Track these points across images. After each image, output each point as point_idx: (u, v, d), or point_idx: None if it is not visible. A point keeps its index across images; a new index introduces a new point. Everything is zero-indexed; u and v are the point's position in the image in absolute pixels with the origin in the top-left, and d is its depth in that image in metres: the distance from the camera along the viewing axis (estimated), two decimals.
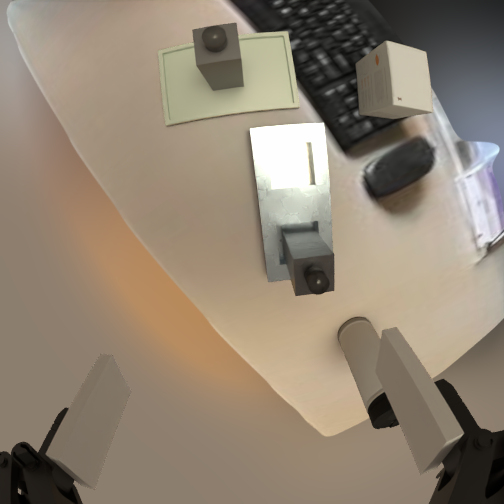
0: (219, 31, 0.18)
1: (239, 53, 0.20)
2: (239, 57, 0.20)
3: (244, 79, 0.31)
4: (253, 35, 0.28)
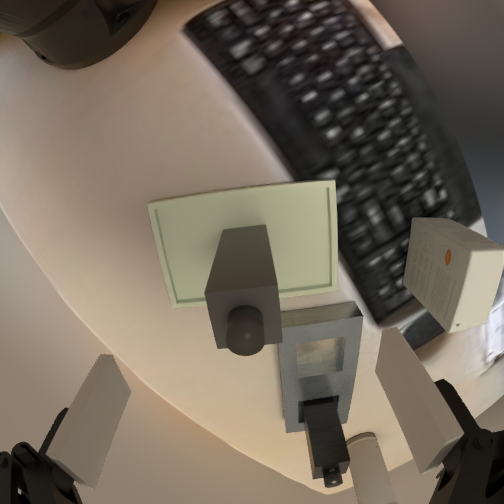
0: (254, 337, 0.14)
1: (280, 335, 0.16)
2: (280, 341, 0.17)
3: None
4: (286, 187, 0.24)
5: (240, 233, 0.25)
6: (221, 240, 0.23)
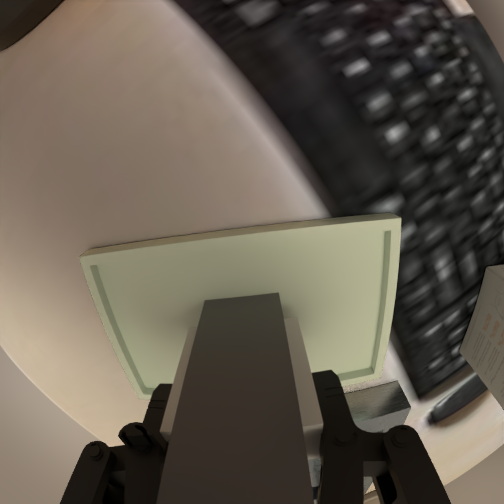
0: None
1: None
2: None
3: None
4: (318, 232, 0.13)
5: (234, 316, 0.13)
6: (198, 335, 0.12)
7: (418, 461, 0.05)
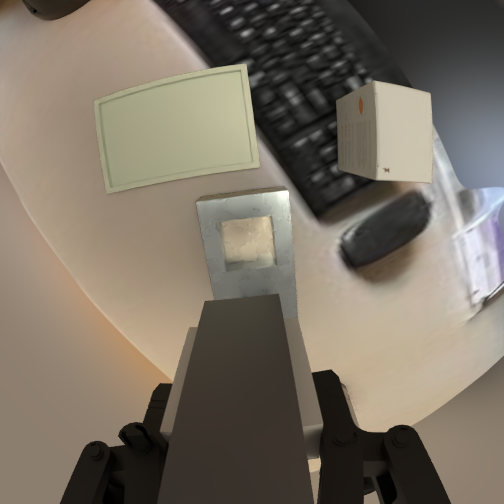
0: None
1: None
2: None
3: (192, 133, 0.27)
4: (202, 72, 0.24)
5: (234, 317, 0.13)
6: (198, 337, 0.12)
7: (418, 461, 0.05)
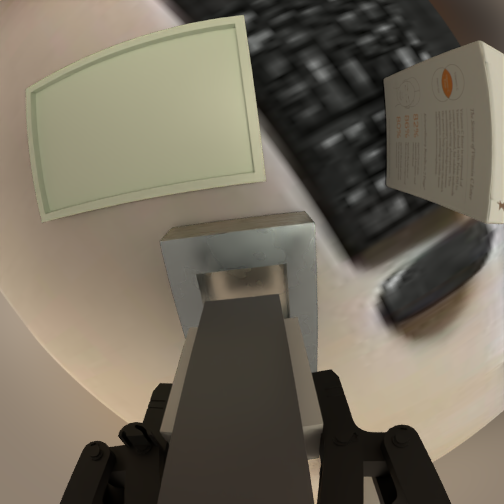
0: None
1: None
2: None
3: (155, 125, 0.16)
4: (172, 31, 0.13)
5: (234, 317, 0.13)
6: (198, 337, 0.12)
7: (418, 461, 0.05)
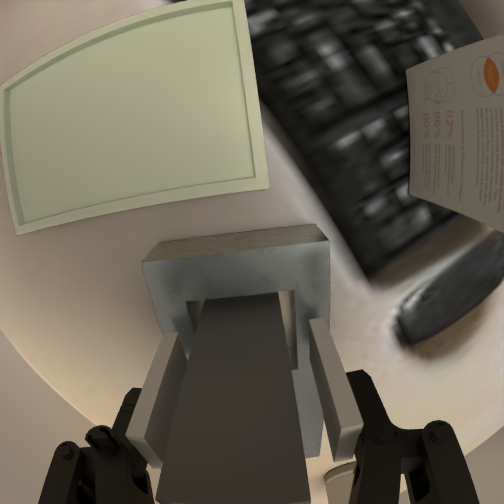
0: None
1: None
2: None
3: (137, 122, 0.13)
4: (158, 11, 0.10)
5: (234, 306, 0.14)
6: (200, 324, 0.13)
7: (452, 456, 0.05)
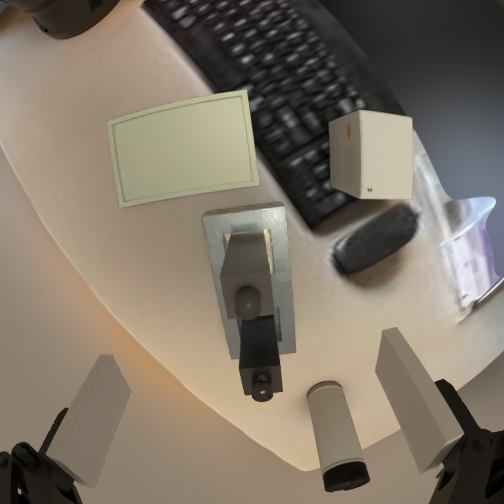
0: (254, 305, 0.21)
1: (273, 309, 0.23)
2: (273, 313, 0.24)
3: (198, 153, 0.31)
4: (206, 98, 0.28)
5: (244, 237, 0.32)
6: (229, 243, 0.31)
7: None
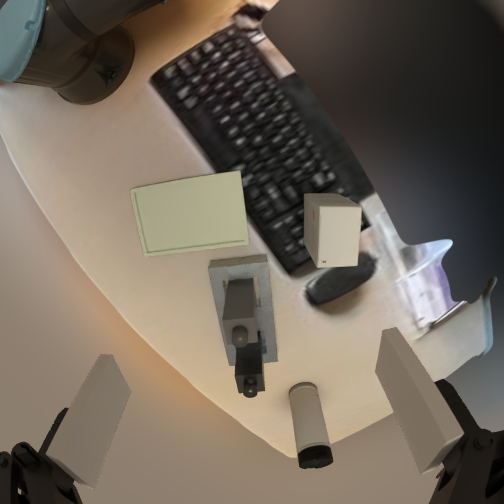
0: (243, 339, 0.33)
1: (256, 339, 0.36)
2: (256, 341, 0.36)
3: (203, 219, 0.43)
4: (209, 177, 0.40)
5: (238, 282, 0.44)
6: (227, 287, 0.43)
7: None
